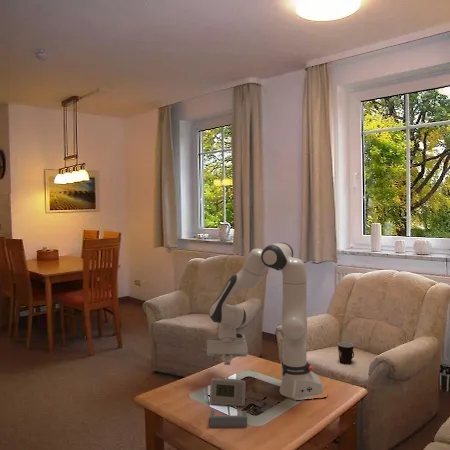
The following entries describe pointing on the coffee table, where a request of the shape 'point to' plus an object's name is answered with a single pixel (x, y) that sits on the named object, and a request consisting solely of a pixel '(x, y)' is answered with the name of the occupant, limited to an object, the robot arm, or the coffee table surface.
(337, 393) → the coffee table surface
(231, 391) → the digital clock
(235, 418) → the dock
